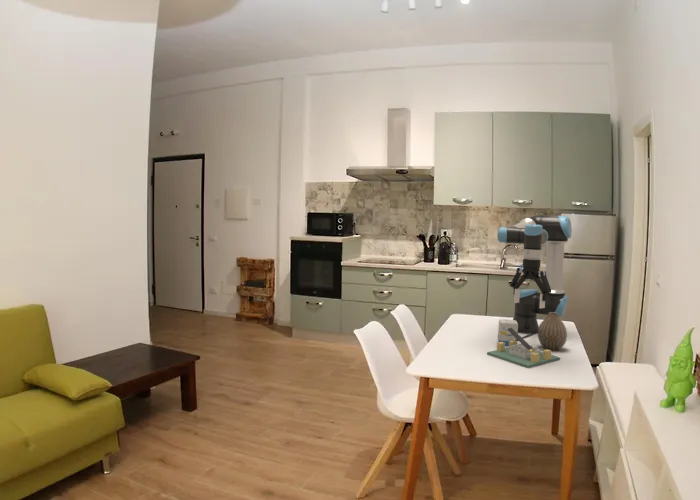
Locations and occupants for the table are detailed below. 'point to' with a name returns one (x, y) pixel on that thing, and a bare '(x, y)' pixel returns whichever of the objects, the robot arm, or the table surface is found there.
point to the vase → (552, 332)
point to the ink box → (506, 331)
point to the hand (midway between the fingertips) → (529, 305)
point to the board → (521, 360)
